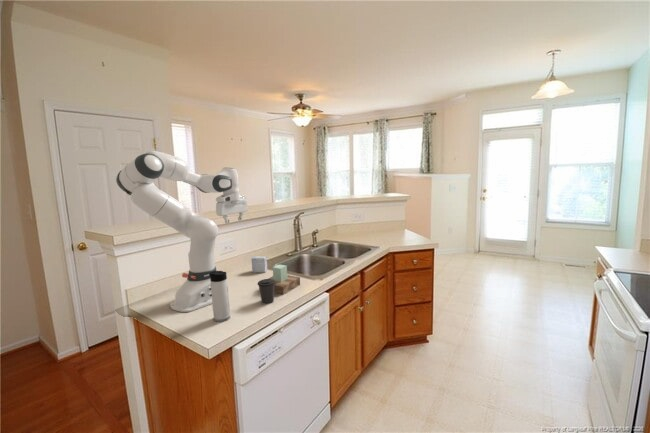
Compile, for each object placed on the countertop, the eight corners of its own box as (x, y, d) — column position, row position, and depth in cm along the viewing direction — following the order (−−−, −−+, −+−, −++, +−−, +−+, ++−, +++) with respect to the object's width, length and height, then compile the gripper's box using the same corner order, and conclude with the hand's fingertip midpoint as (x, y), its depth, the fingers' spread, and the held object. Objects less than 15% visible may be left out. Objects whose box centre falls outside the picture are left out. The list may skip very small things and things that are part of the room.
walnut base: (283, 294, 143) (283, 286, 142) (261, 289, 150) (260, 282, 149) (300, 284, 155) (299, 277, 154) (278, 280, 162) (278, 273, 161)
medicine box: (267, 270, 180) (266, 256, 178) (265, 272, 175) (264, 258, 174) (254, 270, 180) (253, 256, 179) (252, 272, 176) (251, 258, 175)
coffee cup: (268, 306, 131) (266, 284, 129) (254, 302, 135) (253, 281, 133) (280, 299, 137) (279, 278, 136) (267, 296, 142) (266, 276, 140)
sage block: (281, 282, 148) (280, 268, 147) (273, 280, 151) (272, 267, 150) (287, 278, 153) (286, 265, 151) (279, 277, 155) (279, 264, 154)
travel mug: (210, 320, 120) (205, 272, 117) (223, 313, 126) (219, 267, 123) (219, 324, 117) (215, 275, 114) (233, 317, 122) (229, 270, 119)
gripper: (241, 195, 177) (243, 218, 179) (213, 198, 159) (215, 224, 162) (249, 195, 174) (251, 219, 176) (221, 199, 156) (223, 225, 158)
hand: (233, 221), depth 168 cm, fingers open, 8 cm apart
